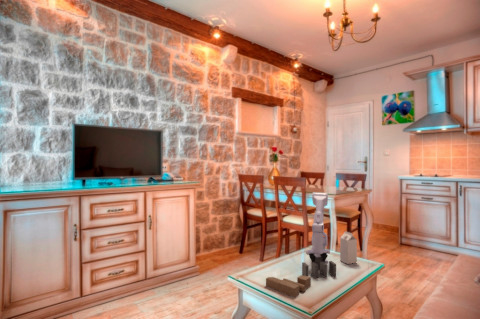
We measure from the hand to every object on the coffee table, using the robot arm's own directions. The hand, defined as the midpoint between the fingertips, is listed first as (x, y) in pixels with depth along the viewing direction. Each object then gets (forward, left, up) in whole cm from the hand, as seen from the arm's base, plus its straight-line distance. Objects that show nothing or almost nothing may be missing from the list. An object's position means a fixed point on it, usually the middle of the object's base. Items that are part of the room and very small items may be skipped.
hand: (317, 265), depth 159 cm
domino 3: (0, 0, -2) cm, 2 cm away
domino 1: (+9, -12, -2) cm, 15 cm away
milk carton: (-8, +25, -2) cm, 26 cm away
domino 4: (+9, -1, -2) cm, 9 cm away
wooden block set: (+18, -25, -3) cm, 31 cm away
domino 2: (+9, -6, -2) cm, 11 cm away
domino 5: (+9, +5, -2) cm, 10 cm away
